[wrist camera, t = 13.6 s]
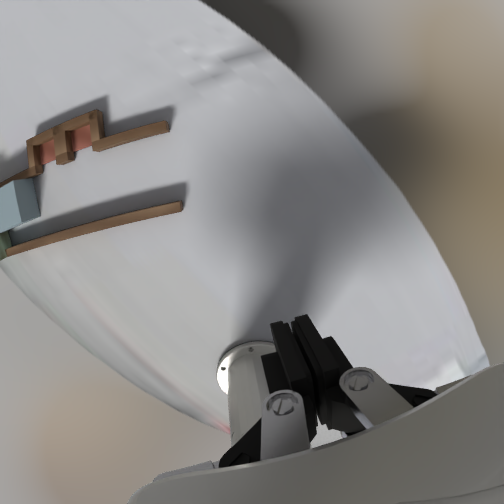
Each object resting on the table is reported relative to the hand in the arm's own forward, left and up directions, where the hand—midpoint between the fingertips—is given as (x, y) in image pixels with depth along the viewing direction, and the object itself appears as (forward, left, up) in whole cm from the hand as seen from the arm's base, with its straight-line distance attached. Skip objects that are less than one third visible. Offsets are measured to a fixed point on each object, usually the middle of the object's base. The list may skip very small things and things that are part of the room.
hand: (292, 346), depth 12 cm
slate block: (+11, +34, -26) cm, 44 cm away
